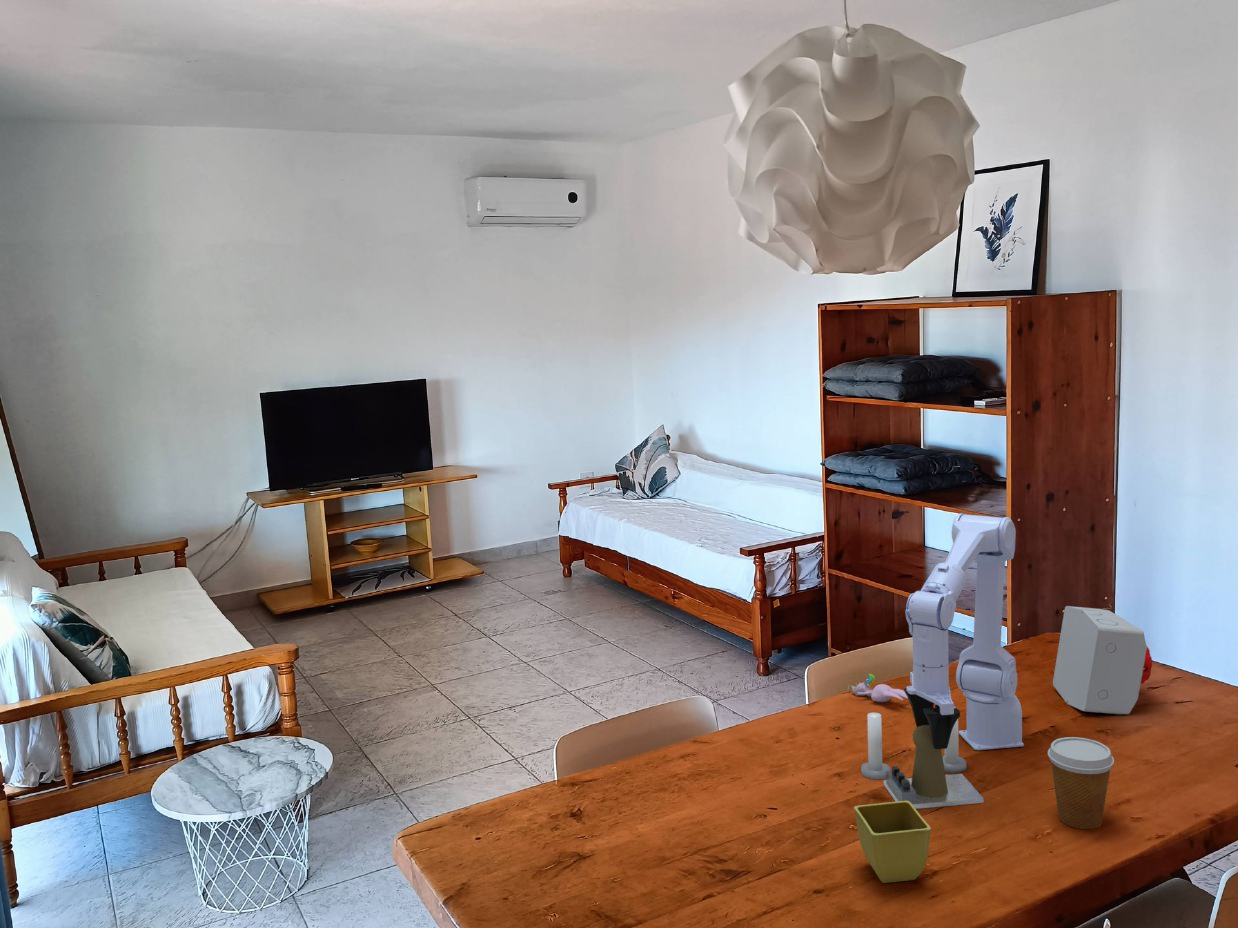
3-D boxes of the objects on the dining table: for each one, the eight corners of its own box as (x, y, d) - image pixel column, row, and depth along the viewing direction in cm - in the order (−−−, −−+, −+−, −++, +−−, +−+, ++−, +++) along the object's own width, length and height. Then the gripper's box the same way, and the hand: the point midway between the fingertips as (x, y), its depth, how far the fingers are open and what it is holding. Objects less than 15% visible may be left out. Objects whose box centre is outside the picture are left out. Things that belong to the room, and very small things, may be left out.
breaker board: (961, 777, 171) (961, 756, 171) (983, 802, 163) (983, 780, 162) (883, 784, 171) (883, 763, 170) (901, 809, 162) (901, 787, 161)
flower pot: (854, 859, 148) (852, 804, 147) (909, 853, 149) (909, 799, 148) (874, 893, 140) (872, 834, 138) (933, 886, 140) (932, 828, 139)
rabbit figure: (843, 701, 212) (896, 710, 199) (839, 674, 211) (892, 682, 199) (863, 693, 215) (916, 702, 202) (859, 667, 215) (912, 674, 202)
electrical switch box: (1157, 724, 193) (1175, 627, 190) (1083, 717, 193) (1099, 620, 190) (1121, 695, 207) (1136, 605, 204) (1051, 689, 207) (1066, 599, 204)
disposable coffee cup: (1086, 841, 149) (1087, 767, 148) (1034, 814, 158) (1034, 745, 156) (1126, 823, 154) (1127, 751, 152) (1073, 798, 162) (1074, 730, 160)
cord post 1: (884, 765, 178) (883, 708, 176) (893, 778, 173) (892, 719, 171) (857, 767, 178) (856, 710, 176) (866, 780, 173) (864, 721, 171)
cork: (943, 780, 169) (942, 720, 168) (951, 797, 163) (951, 735, 162) (907, 780, 170) (906, 721, 168) (914, 797, 164) (913, 735, 162)
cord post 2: (959, 759, 178) (958, 702, 177) (970, 771, 174) (970, 713, 172) (932, 761, 178) (932, 704, 177) (943, 773, 173) (942, 715, 172)
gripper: (892, 649, 170) (894, 722, 172) (923, 679, 156) (924, 759, 158) (932, 646, 170) (933, 719, 173) (966, 675, 156) (966, 755, 158)
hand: (931, 738), depth 165 cm, fingers open, 7 cm apart
